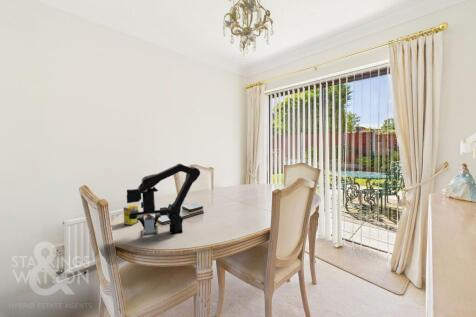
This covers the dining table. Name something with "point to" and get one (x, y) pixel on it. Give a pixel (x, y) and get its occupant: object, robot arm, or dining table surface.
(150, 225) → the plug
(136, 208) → the supplement box
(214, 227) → the dining table surface
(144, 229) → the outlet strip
